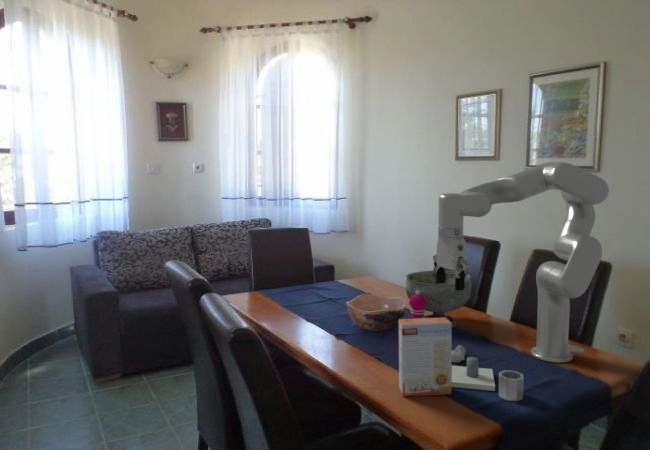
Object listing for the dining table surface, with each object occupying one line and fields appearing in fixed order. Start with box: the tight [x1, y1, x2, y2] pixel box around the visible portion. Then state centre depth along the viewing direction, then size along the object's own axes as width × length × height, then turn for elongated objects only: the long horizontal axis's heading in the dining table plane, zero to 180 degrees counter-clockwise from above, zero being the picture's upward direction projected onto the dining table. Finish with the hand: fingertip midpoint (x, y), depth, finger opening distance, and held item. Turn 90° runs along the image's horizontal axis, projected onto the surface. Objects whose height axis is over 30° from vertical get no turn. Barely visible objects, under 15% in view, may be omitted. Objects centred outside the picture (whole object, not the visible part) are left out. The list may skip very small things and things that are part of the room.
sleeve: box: [498, 369, 525, 402], centre depth 139 cm, size 6×6×6 cm
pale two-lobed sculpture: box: [452, 344, 467, 363], centre depth 165 cm, size 4×8×5 cm
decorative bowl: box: [405, 270, 472, 328], centre depth 200 cm, size 26×26×20 cm
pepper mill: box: [408, 291, 426, 319], centre depth 177 cm, size 7×7×20 cm
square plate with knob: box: [451, 356, 496, 392], centre depth 149 cm, size 12×12×6 cm
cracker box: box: [398, 317, 453, 397], centre depth 142 cm, size 14×6×21 cm, turn 92°
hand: (450, 286), depth 159 cm, fingers open, 9 cm apart
